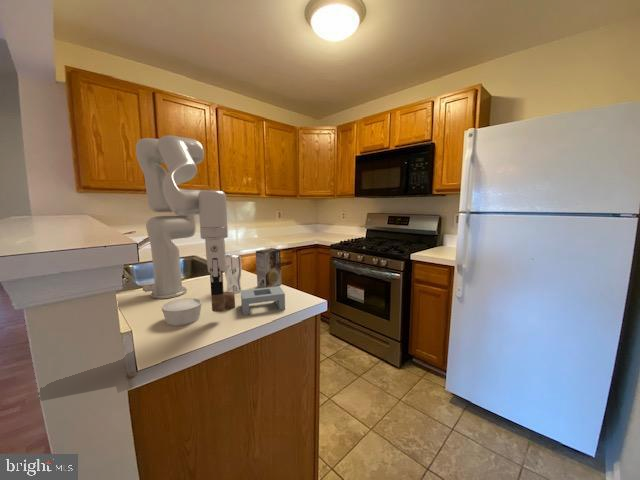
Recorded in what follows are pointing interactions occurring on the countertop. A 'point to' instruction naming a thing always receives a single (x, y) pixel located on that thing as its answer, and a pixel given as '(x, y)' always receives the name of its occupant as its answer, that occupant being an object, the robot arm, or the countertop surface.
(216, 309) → the tall brown wooden block
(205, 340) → the countertop surface
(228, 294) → the brown upright block
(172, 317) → the ramekin
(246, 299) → the hole bridge
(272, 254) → the coffee box
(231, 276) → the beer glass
